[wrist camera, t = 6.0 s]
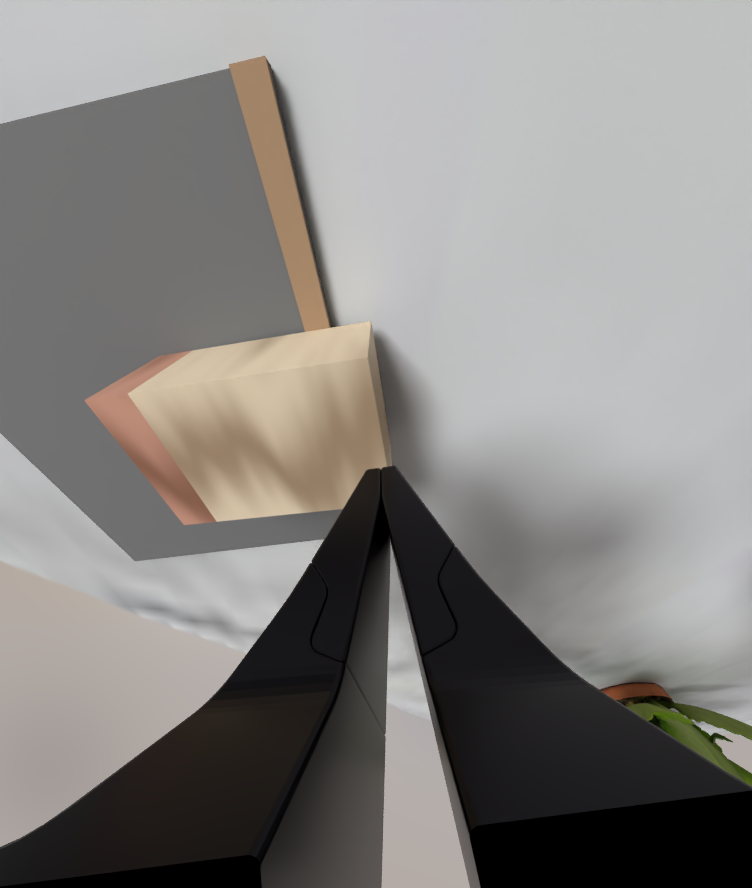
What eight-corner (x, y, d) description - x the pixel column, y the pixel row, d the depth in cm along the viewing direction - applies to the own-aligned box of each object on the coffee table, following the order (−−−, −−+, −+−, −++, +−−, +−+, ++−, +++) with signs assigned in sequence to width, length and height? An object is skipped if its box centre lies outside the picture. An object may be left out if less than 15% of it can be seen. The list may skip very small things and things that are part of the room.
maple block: (393, 503, 12) (183, 524, 13) (390, 444, 15) (223, 465, 16) (367, 357, 9) (84, 400, 10) (371, 321, 12) (159, 356, 13)
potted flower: (546, 665, 34) (672, 975, 20) (779, 643, 32) (1109, 976, 18) (527, 724, 49) (593, 930, 34) (687, 712, 46) (829, 928, 32)
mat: (378, 527, 20) (378, 535, 20) (138, 556, 21) (133, 563, 21) (270, 66, 8) (264, 55, 8) (-238, 188, 10) (-269, 186, 9)
